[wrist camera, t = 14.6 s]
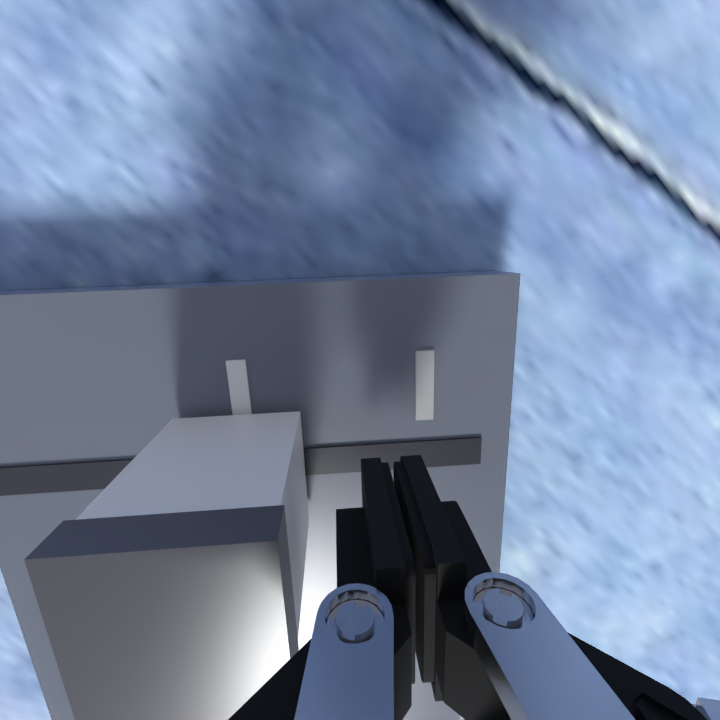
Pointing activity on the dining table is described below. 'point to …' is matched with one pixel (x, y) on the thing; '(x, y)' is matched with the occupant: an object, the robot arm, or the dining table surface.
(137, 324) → the console
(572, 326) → the dining table surface
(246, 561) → the block
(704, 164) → the dining table surface
